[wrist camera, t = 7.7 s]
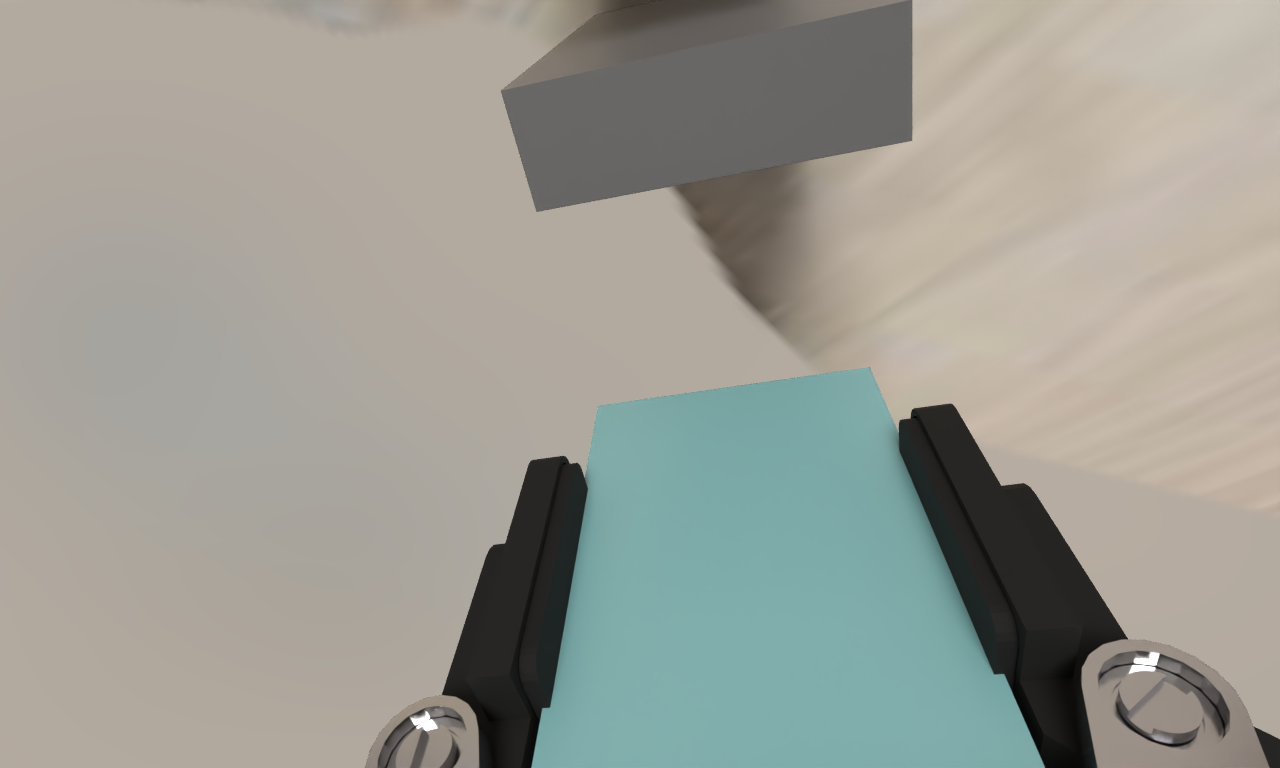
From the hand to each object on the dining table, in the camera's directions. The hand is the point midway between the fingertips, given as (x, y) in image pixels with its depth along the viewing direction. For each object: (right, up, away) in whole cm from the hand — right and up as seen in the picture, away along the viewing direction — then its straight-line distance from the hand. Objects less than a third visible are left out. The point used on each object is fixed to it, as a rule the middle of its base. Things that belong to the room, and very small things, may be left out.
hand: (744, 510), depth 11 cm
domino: (0, +11, +6) cm, 12 cm away
